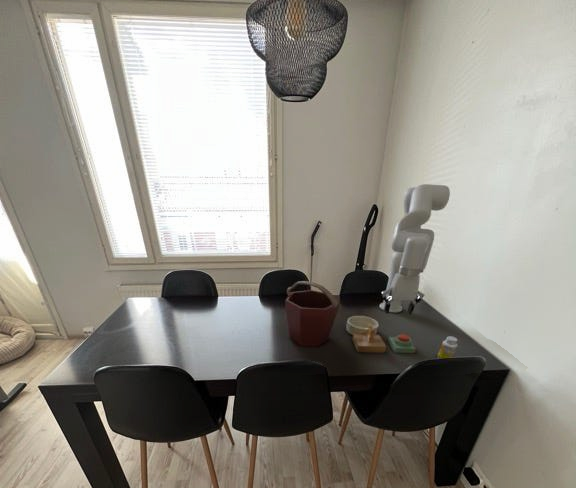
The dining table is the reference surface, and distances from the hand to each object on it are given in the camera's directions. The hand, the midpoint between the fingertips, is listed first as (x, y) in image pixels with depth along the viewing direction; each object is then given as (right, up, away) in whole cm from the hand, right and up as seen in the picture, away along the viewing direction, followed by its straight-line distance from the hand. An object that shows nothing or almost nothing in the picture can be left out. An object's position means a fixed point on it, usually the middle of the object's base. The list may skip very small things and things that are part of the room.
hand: (397, 312), depth 123 cm
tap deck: (-10, -13, +9) cm, 19 cm away
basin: (-11, -6, +20) cm, 23 cm away
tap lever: (-10, -10, +8) cm, 16 cm away
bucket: (-36, -9, +13) cm, 40 cm away
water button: (+5, -11, +7) cm, 14 cm away
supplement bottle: (+20, -20, +1) cm, 28 cm away
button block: (+5, -14, +9) cm, 17 cm away
